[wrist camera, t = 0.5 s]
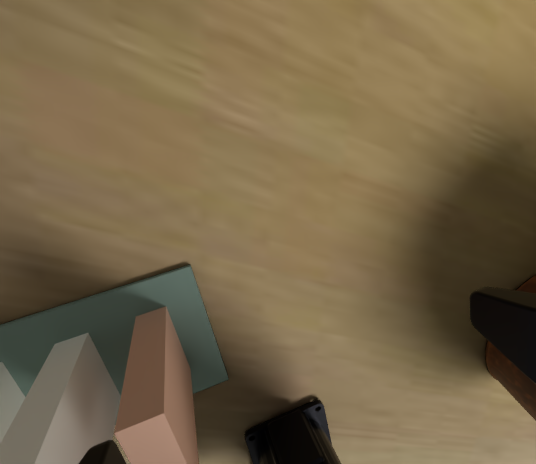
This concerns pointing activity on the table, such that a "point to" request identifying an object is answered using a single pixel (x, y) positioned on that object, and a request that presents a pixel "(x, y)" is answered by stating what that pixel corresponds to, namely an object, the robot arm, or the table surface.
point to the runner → (117, 329)
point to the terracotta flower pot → (513, 368)
